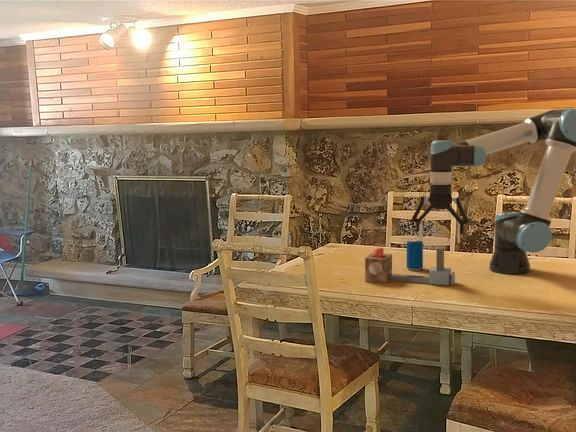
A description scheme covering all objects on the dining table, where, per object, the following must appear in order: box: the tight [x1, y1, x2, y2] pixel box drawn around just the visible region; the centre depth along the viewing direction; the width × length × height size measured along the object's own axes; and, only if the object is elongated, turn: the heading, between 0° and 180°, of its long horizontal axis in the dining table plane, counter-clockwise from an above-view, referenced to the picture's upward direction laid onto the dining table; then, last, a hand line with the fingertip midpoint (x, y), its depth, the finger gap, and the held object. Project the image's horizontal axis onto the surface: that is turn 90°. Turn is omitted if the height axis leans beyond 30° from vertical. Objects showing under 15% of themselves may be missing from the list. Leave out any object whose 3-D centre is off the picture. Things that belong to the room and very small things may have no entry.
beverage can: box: [406, 238, 424, 271], centre depth 249 cm, size 6×6×12 cm
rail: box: [388, 271, 456, 287], centre depth 229 cm, size 24×5×4 cm, turn 68°
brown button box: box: [364, 252, 393, 284], centre depth 235 cm, size 8×10×9 cm
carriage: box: [428, 246, 452, 286], centre depth 226 cm, size 7×6×13 cm
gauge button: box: [373, 247, 384, 258], centre depth 234 cm, size 4×4×6 cm
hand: (439, 241), depth 225 cm, fingers open, 13 cm apart
